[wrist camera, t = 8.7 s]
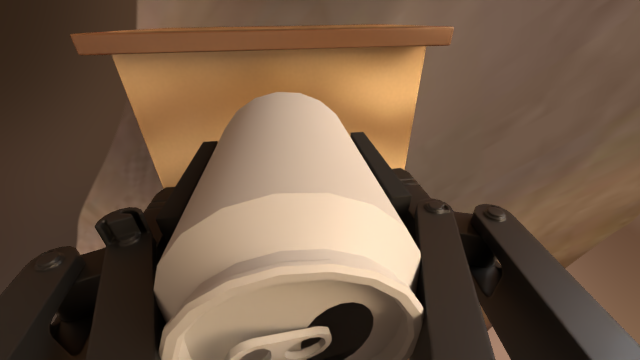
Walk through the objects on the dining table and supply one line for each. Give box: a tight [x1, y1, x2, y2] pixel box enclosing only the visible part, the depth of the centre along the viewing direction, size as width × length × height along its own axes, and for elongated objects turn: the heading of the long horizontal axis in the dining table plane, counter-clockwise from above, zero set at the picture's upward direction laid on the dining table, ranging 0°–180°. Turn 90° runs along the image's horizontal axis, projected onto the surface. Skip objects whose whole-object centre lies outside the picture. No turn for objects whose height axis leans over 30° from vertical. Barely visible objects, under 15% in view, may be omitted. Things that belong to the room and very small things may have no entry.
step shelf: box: [70, 24, 454, 189], centre depth 28 cm, size 29×21×14 cm
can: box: [153, 92, 424, 360], centre depth 11 cm, size 8×8×12 cm
